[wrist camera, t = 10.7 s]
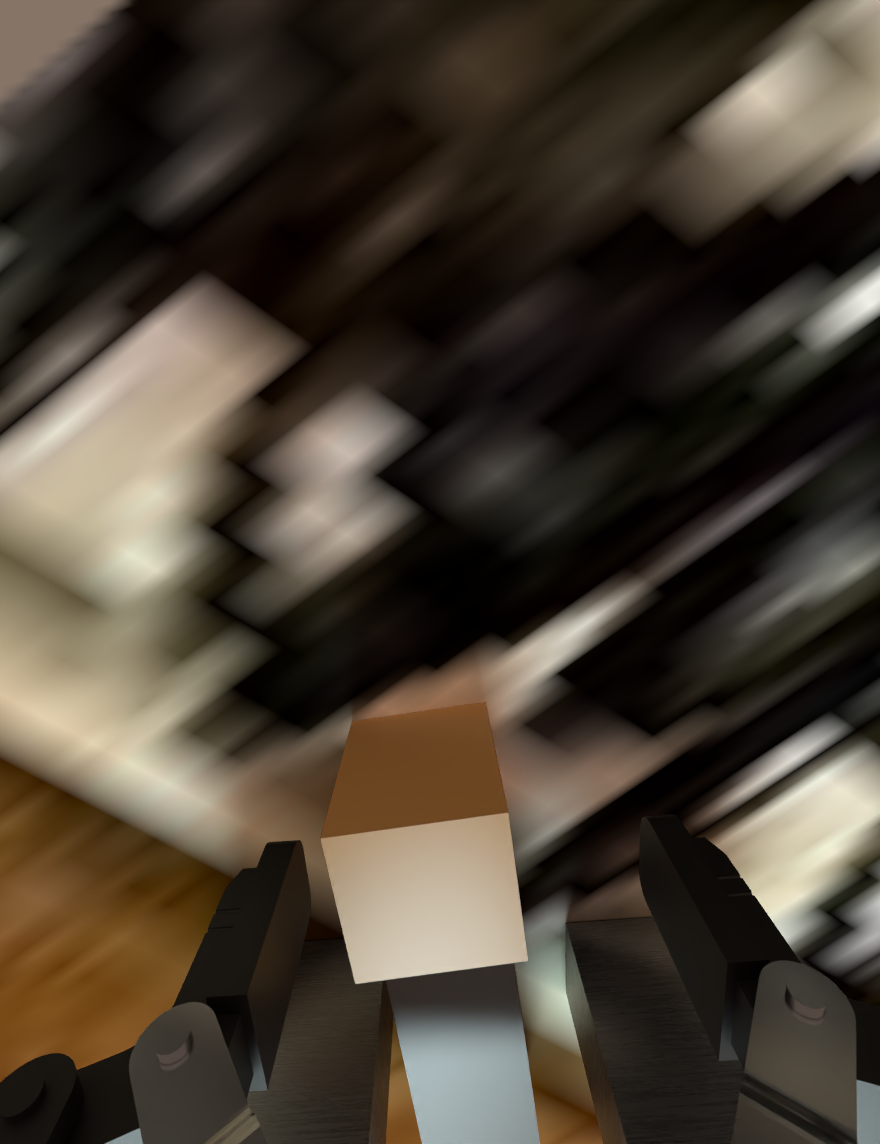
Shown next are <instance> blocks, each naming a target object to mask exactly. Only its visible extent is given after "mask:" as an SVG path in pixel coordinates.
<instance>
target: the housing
mask: <svg viewBox="0 0 880 1144" xmlns="http://www.w3.org/2000/svg"><path fill="white" fill-rule="evenodd" d="M566 994H567V998H568V1002H569V1006H570V1010H571V1014H572V1018H573V1022H574V1026H575V1030H576V1034H577V1039H578V1043H579V1047H580V1051H581V1055H582V1059H583V1063H584V1067H585V1071H586V1075H587V1079H588V1083H589V1087H590V1091H591V1096H592V1100H593V1104H594V1108H595V1112H596V1116H597V1120H598V1124H599V1128H600V1132H601V1136H602V1140H603V1144H731V1142H732V1135H733V1129H734V1123H735V1117H736V1110H737V1104H738V1098H739V1092H740V1086H741V1081H742V1079H743V1075H744V1069H743V1067H742V1065H741V1063H740V1061H739V1060H725V1061H719V1060H718V1058H717V1056H716V1054H715V1052H714V1049H713V1047H712V1045H711V1043H710V1041H709V1038H708V1036H707V1034H706V1032H705V1030H704V1027H703V1025H702V1023H701V1021H700V1019H699V1016H698V1014H697V1012H696V1010H695V1008H694V1005H693V1003H692V1001H691V999H690V997H689V994H688V992H687V990H686V988H685V986H684V984H683V981H682V979H681V977H680V975H679V973H678V970H677V968H676V966H675V964H674V962H673V959H672V957H671V955H670V953H669V951H668V948H667V946H666V944H665V942H664V940H663V937H662V935H661V933H660V931H659V929H658V926H657V924H656V922H655V920H654V918H653V917H650V918H636V919H621V920H607V921H593V922H578V923H566ZM393 1015H394V1014H393V1010H392V1005H391V1001H390V996H389V992H388V987H387V983H386V980H382V981H374V982H367V983H359V984H355V981H354V977H353V972H352V968H351V964H350V960H349V956H348V952H347V947H346V943H345V939H333V940H319V941H304V944H303V948H302V952H301V956H300V960H299V965H298V969H297V973H296V977H295V981H294V985H293V989H292V993H291V997H290V1001H289V1005H288V1009H287V1013H286V1017H285V1021H284V1025H283V1030H282V1034H281V1038H280V1042H279V1046H278V1050H277V1054H276V1058H275V1062H274V1066H273V1070H272V1074H271V1078H270V1082H269V1086H268V1090H265V1091H251V1092H249V1093H248V1097H247V1102H248V1105H249V1108H250V1110H251V1112H252V1114H253V1113H254V1114H255V1115H256V1117H257V1120H258V1122H259V1124H260V1127H261V1130H262V1132H263V1135H264V1138H265V1140H266V1143H267V1144H386V1128H387V1112H388V1096H389V1080H390V1063H391V1047H392V1031H393Z"/></svg>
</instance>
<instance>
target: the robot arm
mask: <svg viewBox="0 0 880 1144" xmlns="http://www.w3.org/2000/svg"><path fill="white" fill-rule="evenodd" d="M639 875H640V882H641V887H642V891H643V894H644V897H645V900H646V902H647V905H648V907H649V909H650V911H651V913H652V916H653V918H654V920H655V922H656V924H657V926H658V929H659V931H660V933H661V935H662V937H663V940H664V942H665V944H666V946H667V948H668V951H669V953H670V955H671V957H672V959H673V962H674V964H675V966H676V968H677V970H678V973H679V975H680V977H681V979H682V981H683V984H684V986H685V988H686V990H687V992H688V994H689V997H690V999H691V1001H692V1003H693V1005H694V1008H695V1010H696V1012H697V1014H698V1016H699V1019H700V1021H701V1023H702V1025H703V1027H704V1030H705V1032H706V1034H707V1036H708V1038H709V1041H710V1043H711V1045H712V1047H713V1049H714V1052H715V1054H716V1056H717V1058H718V1060H719V1061H725V1060H739V1061H740V1063H741V1065H742V1067H743V1069H744V1075H743V1079H742V1081H741V1086H740V1092H739V1098H738V1104H737V1110H736V1117H735V1123H734V1129H733V1135H732V1142H731V1144H880V1007H878V1006H874V1005H870V1004H866V1003H862V1002H859V1001H855V1000H853V999H850V998H848V997H846V996H845V995H844V994H843V992H842V991H841V990H840V989H839V988H838V987H837V986H836V985H835V984H834V983H833V982H832V981H831V980H829V979H828V978H827V977H825V976H824V975H823V974H821V973H819V972H818V971H816V970H814V969H812V968H810V967H808V966H806V965H803V964H802V963H801V962H800V961H799V959H798V958H797V956H796V955H795V954H794V952H793V951H792V949H791V948H790V946H789V945H788V943H787V942H786V941H785V939H784V938H783V936H782V935H781V933H780V932H779V930H778V929H777V928H776V926H775V925H774V923H773V922H772V920H771V919H770V917H769V916H768V915H767V913H766V912H765V910H764V909H763V907H762V906H761V904H760V903H759V902H758V900H757V899H756V897H755V896H753V895H752V893H751V890H750V889H749V887H748V886H747V884H746V883H745V881H744V880H743V879H742V878H740V874H739V873H738V871H737V870H736V868H735V867H734V866H733V864H732V863H731V861H730V860H729V858H728V857H727V855H726V854H725V853H724V852H722V851H721V850H720V849H719V848H717V847H716V846H715V845H713V844H712V843H711V842H710V841H708V840H707V839H706V838H705V837H702V838H691V836H690V834H689V833H688V831H687V830H686V828H685V827H684V825H683V823H682V822H681V820H680V819H679V818H678V817H677V816H676V815H663V816H649V817H643V818H642V819H641V827H640V857H639ZM310 909H311V895H310V887H309V881H308V875H307V869H306V863H305V857H304V851H303V845H302V842H301V841H300V840H295V841H281V842H269V843H267V844H266V846H265V848H264V851H263V853H262V856H261V858H260V861H259V863H258V866H257V868H247V869H242V871H241V872H240V873H239V874H238V875H237V876H236V877H235V878H234V880H233V881H232V882H231V883H230V884H229V885H228V886H227V887H226V889H225V891H224V893H223V895H222V898H221V900H220V902H219V904H218V907H217V909H216V914H214V916H213V918H212V920H211V922H210V925H209V927H208V932H207V933H206V934H205V936H204V938H203V940H202V943H201V945H200V947H199V949H198V952H197V954H196V956H195V958H194V961H193V963H192V965H191V967H190V970H189V972H188V974H187V976H186V979H185V981H184V983H183V985H182V988H181V990H180V992H179V994H178V997H177V999H176V1001H175V1003H174V1005H173V1007H172V1008H171V1009H169V1010H168V1011H166V1012H164V1013H163V1014H162V1015H160V1016H159V1017H158V1018H156V1019H155V1020H154V1021H153V1022H152V1023H151V1024H150V1025H149V1026H148V1027H147V1028H146V1029H145V1031H144V1032H143V1033H142V1035H141V1036H140V1037H139V1039H138V1041H137V1043H136V1044H135V1046H133V1047H131V1048H130V1049H128V1050H126V1051H123V1052H121V1053H119V1054H116V1055H114V1056H111V1057H109V1058H106V1059H104V1060H101V1061H99V1062H96V1063H94V1064H91V1065H89V1066H86V1067H84V1068H81V1069H79V1070H76V1067H75V1064H74V1062H73V1060H72V1059H71V1058H70V1057H69V1056H67V1055H65V1054H59V1053H55V1054H48V1055H43V1056H41V1057H38V1058H35V1059H33V1060H31V1061H29V1062H27V1063H26V1064H24V1065H23V1066H21V1067H19V1068H18V1069H16V1070H15V1071H14V1072H12V1073H11V1074H10V1075H9V1076H8V1077H6V1078H5V1079H4V1080H3V1081H2V1082H1V1083H0V1144H267V1143H266V1140H265V1138H264V1135H263V1132H262V1130H261V1127H260V1124H259V1122H258V1120H257V1117H256V1115H255V1114H254V1113H253V1114H252V1112H251V1110H250V1108H249V1105H248V1102H247V1097H248V1093H249V1092H251V1091H265V1090H268V1086H269V1082H270V1078H271V1074H272V1070H273V1066H274V1062H275V1058H276V1054H277V1050H278V1046H279V1042H280V1038H281V1034H282V1030H283V1025H284V1021H285V1017H286V1013H287V1009H288V1005H289V1001H290V997H291V993H292V989H293V985H294V981H295V977H296V973H297V969H298V965H299V960H300V956H301V952H302V948H303V944H304V940H305V936H306V932H307V928H308V924H309V918H310Z"/></svg>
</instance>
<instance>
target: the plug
mask: <svg viewBox="0 0 880 1144" xmlns="http://www.w3.org/2000/svg"><path fill="white" fill-rule="evenodd" d="M320 840H321V844H322V848H323V852H324V856H325V860H326V864H327V869H328V873H329V877H330V881H331V885H332V889H333V894H334V898H335V902H336V906H337V910H338V914H339V918H340V923H341V927H342V931H343V935H344V939H345V943H346V947H347V952H348V956H349V960H350V964H351V968H352V972H353V977H354V981H355V984H359V983H367V982H374V981H382V980H386V983H387V987H388V992H389V996H390V1001H391V1005H392V1010H393V1014H394V1019H395V1023H396V1028H397V1032H398V1037H399V1041H400V1046H401V1050H402V1055H403V1059H404V1064H405V1069H406V1073H407V1078H408V1082H409V1087H410V1091H411V1096H412V1100H413V1105H414V1109H415V1114H416V1118H417V1123H418V1127H419V1132H420V1136H421V1141H422V1144H540V1140H539V1133H538V1126H537V1119H536V1112H535V1105H534V1098H533V1091H532V1084H531V1077H530V1070H529V1063H528V1056H527V1049H526V1042H525V1035H524V1028H523V1021H522V1014H521V1007H520V1000H519V993H518V986H517V979H516V972H515V965H514V963H517V962H524V961H528V956H527V948H526V941H525V933H524V926H523V918H522V911H521V904H520V896H519V889H518V881H517V874H516V866H515V859H514V852H513V844H512V837H511V829H510V822H509V814H508V809H507V804H506V799H505V795H504V790H503V785H502V780H501V775H500V771H499V766H498V761H497V756H496V751H495V746H494V742H493V737H492V732H491V727H490V722H489V718H488V713H487V708H486V703H485V702H483V703H476V704H469V705H462V706H455V707H448V708H441V709H434V710H427V711H420V712H413V713H406V714H399V715H392V716H385V717H378V718H371V719H364V720H357V721H352V723H351V727H350V731H349V735H348V738H347V742H346V746H345V749H344V753H343V757H342V760H341V764H340V768H339V771H338V775H337V779H336V783H335V786H334V790H333V794H332V797H331V801H330V805H329V808H328V812H327V816H326V819H325V823H324V827H323V831H322V834H321V838H320Z"/></svg>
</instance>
